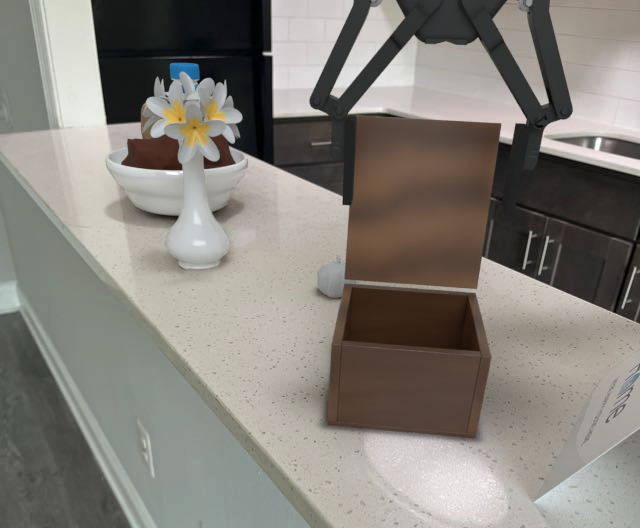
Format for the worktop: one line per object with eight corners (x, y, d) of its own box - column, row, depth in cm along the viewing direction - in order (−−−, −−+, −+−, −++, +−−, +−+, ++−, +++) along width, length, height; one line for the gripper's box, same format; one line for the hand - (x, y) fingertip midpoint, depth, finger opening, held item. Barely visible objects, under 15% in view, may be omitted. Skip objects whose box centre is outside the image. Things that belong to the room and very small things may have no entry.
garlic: (328, 284, 93) (329, 248, 90) (362, 292, 91) (365, 255, 88) (308, 298, 88) (309, 260, 86) (343, 306, 86) (346, 268, 84)
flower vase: (174, 293, 88) (155, 85, 75) (146, 250, 102) (126, 69, 88) (265, 282, 93) (263, 84, 79) (227, 242, 107) (219, 69, 93)
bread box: (474, 442, 61) (491, 356, 56) (327, 429, 62) (331, 344, 57) (462, 367, 73) (476, 292, 68) (339, 358, 74) (344, 282, 69)
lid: (501, 123, 61) (500, 123, 62) (355, 115, 62) (355, 115, 63) (477, 289, 68) (476, 287, 68) (344, 279, 69) (344, 278, 69)
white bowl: (103, 197, 127) (91, 112, 119) (227, 190, 136) (224, 110, 128) (124, 235, 108) (111, 137, 100) (267, 223, 117) (266, 132, 109)
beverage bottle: (207, 158, 161) (202, 66, 150) (172, 158, 160) (164, 65, 149) (207, 151, 168) (202, 62, 157) (173, 151, 167) (166, 61, 156)
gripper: (271, -127, 42) (275, 209, 54) (672, -121, 40) (586, 226, 52) (288, -111, 48) (289, 187, 60) (636, -105, 46) (567, 201, 58)
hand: (427, 205), depth 56 cm, fingers open, 13 cm apart
